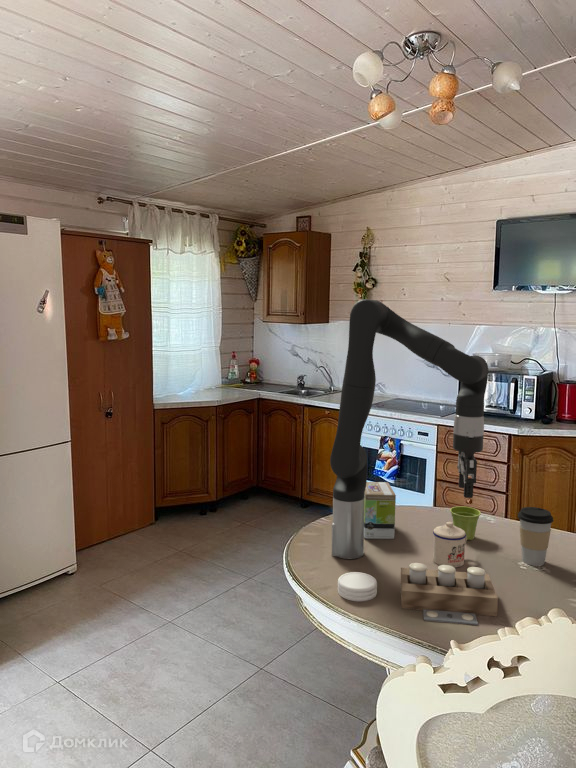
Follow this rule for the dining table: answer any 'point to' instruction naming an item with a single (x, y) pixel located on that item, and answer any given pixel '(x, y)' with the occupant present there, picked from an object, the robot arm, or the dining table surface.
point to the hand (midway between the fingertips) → (465, 492)
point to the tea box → (379, 511)
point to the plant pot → (466, 519)
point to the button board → (448, 595)
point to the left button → (417, 573)
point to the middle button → (446, 575)
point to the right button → (475, 578)
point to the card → (450, 617)
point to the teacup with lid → (449, 545)
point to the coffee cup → (534, 534)
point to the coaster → (357, 586)
